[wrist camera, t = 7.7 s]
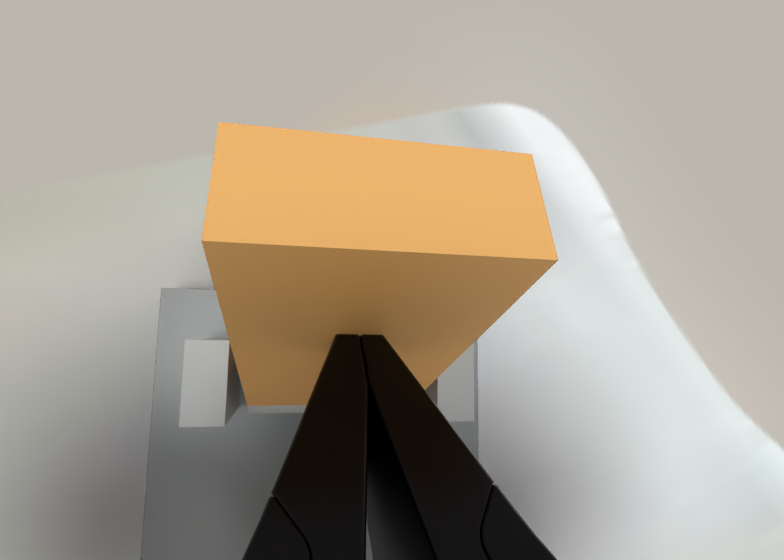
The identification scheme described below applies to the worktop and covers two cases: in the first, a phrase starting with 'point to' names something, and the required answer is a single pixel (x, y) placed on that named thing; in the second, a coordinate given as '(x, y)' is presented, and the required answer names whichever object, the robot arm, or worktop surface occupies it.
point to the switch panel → (232, 435)
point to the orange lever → (363, 250)
